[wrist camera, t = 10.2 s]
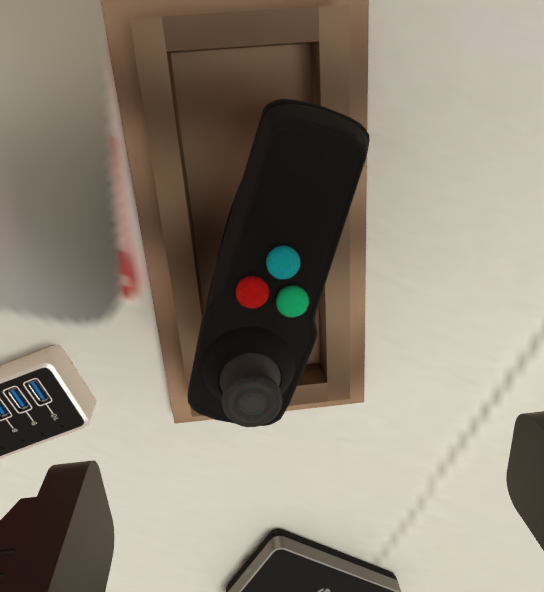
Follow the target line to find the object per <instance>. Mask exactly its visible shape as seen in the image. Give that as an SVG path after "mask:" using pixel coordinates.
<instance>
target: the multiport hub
mask: <svg viewBox="0 0 544 592" xmlns="http://www.w3.org/2000/svg"><path fill="white" fill-rule="evenodd" d="M95 405H96V399H95V397H94V396H93V394H92V392H91V391H90V389H89V388H88V386H87V385H86V383H85V381H84V380H83V378H82V377H81V375H80V374H79V372H78V370H77V369H76V367H75V366H74V364H73V362H72V361H71V359H70V358H69V356H68V355H67V353H66V351H65V350H64V349H63V348H62V347H61V346H58V345H53V346H50V347H47V348H45V349H42V350H39V351H37V352H34V353H32V354H29V355H26V356H24V357H21V358H18V359H16V360H13V361H11V362H8V363H5V364H3V365H0V459H1V458H4V457H6V456H9V455H12V454H14V453H17V452H20V451H23V450H25V449H28V448H31V447H33V446H36V445H39V444H41V443H44V442H47V441H50V440H52V439H55V438H58V437H60V436H63V435H66V434H69V433H71V432H74V431H77V430H79V429H82V428H85V427H86V426H87V425H88V424H89V421H90V419H91V416H92V413H93V410H94V408H95Z"/></svg>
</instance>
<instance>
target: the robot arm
mask: <svg viewBox="0 0 544 592" xmlns="http://www.w3.org/2000/svg"><path fill="white" fill-rule="evenodd" d="M507 487H508V492H509V495H510V498H511V500H512V503H513V505H514V507H515V508H516V510H517V512H518V513H519V515H520V516H521V517H522V519H523V520H524V522H525V523H526V525H527V526H528V528H529V529H530V531H531V532H532V534H533V535H534V537H535V538H536V540H537V541H538V543H539V544H540V546H541V547H542V549H543V550H544V411H543V412H534V413H525V414H520V415H519V416H518V417H517V419H516V422H515V427H514V433H513V439H512V445H511V451H510V457H509V463H508V469H507ZM113 550H114V526H113V520H112V516H111V512H110V508H109V504H108V500H107V496H106V492H105V489H104V485H103V481H102V477H101V473H100V469H99V466H98V464H97V463H96V461H85V462H76V463H67V464H58V465H53V466H51V467H50V468H49V470H48V472H47V474H46V476H45V479H44V481H43V483H42V486H41V488H40V491H39V493H38V495H37V497H31V498H22V499H20V500H19V501H18V502H17V503H16V504H15V505H14V506H13V508H12V509H11V510H10V511H9V512H8V513H7V514H6V515H5V516H4V517H3V518H2V519H1V520H0V592H105V590H106V585H107V580H108V576H109V571H110V566H111V562H112V557H113Z"/></svg>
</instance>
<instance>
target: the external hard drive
mask: <svg viewBox="0 0 544 592" xmlns="http://www.w3.org/2000/svg"><path fill="white" fill-rule="evenodd" d="M226 592H401V589H400V587H399V584H398V581H397V578H396V576H395V575H394V574H393V573H391V572H388V571H386V570H383V569H381V568H378V567H376V566H373V565H371V564H368V563H365V562H363V561H360V560H358V559H355V558H353V557H350V556H348V555H345V554H342V553H340V552H337V551H335V550H332V549H330V548H327V547H325V546H322V545H319V544H317V543H314V542H312V541H309V540H307V539H304V538H302V537H299V536H296V535H294V534H291V533H289V532H286V531H284V530H281V529H275V530H273V531H272V532H271V533H270V534H269V536H268V537H267V538H266V539H265V540H264V542H263V543H262V544H261V545H260V547H259V548H258V549H257V550H256V552H255V553H254V554H253V555H252V556H251V558H250V559H249V560H248V561H247V563H246V564H245V565H244V566H243V568H242V569H241V570H240V571H239V572H238V574H237V575H236V576H235V577H234V579H233V580H232V581H231V582H230V584H229V585H228V586H227V589H226Z"/></svg>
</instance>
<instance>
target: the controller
mask: <svg viewBox="0 0 544 592" xmlns="http://www.w3.org/2000/svg"><path fill="white" fill-rule="evenodd" d="M368 146H369V134H368V132H367V130H366V129H365V128H364V126H363V125H362V124H361V123H359V122H357V121H356V120H354V119H352V118H351V117H348V116H346V115H343V114H341V113H338V112H336V111H333V110H331V109H328V108H326V107H323V106H321V105H317V104H312V103H308V102H303V101H299V100H294V99H277V100H274V101H272V102H270V103H268V104H267V105H266V106H265V107H264V108H263V111H262V115H261V118H260V121H259V124H258V128H257V131H256V134H255V138H254V141H253V144H252V148H251V151H250V154H249V157H248V161H247V164H246V167H245V171H244V174H243V177H242V180H241V182H240V184H239V187H238V190H237V192H236V195H235V198H234V200H233V203H232V206H231V209H230V212H229V215H228V219H227V222H226V226H225V229H224V233H223V236H222V240H221V244H220V248H219V252H218V256H217V260H216V264H215V268H214V272H213V276H212V279H211V283H210V288H209V292H208V297H207V302H206V307H205V312H204V315H203V318H202V321H201V326H200V331H199V336H198V341H197V346H196V352H195V357H194V362H193V367H192V372H191V377H190V383H189V388H188V394H187V397H188V403H189V405H190V407H191V408H192V409H193V410H194V411H196V412H197V413H199V414H200V415H203V416H206V417H209V418H212V419H215V420H220V421H225V422H231V423H236V424H238V425H240V426H244V427H257V426H266V425H270V424H273V423H275V422H277V421H278V420H280V419H281V417H282V416H283V414H284V412H285V411H286V409H287V408H288V406H289V404H290V401H291V399H292V397H293V394H294V392H295V390H296V387H297V385H298V383H299V380H300V378H301V376H302V373H303V371H304V369H305V366H306V364H307V362H308V359H309V357H310V355H311V352H312V350H313V348H314V345H315V341H316V338H317V334H318V333H317V327H316V321H315V316H316V311H317V308H318V305H319V302H320V299H321V296H322V293H323V290H324V287H325V283H326V280H327V277H328V274H329V271H330V268H331V265H332V262H333V259H334V256H335V253H336V250H337V247H338V243H339V240H340V237H341V234H342V231H343V228H344V225H345V222H346V219H347V216H348V213H349V210H350V206H351V203H352V200H353V197H354V194H355V191H356V188H357V185H358V182H359V179H360V176H361V173H362V170H363V166H364V163H365V160H366V157H367V151H368Z"/></svg>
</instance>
